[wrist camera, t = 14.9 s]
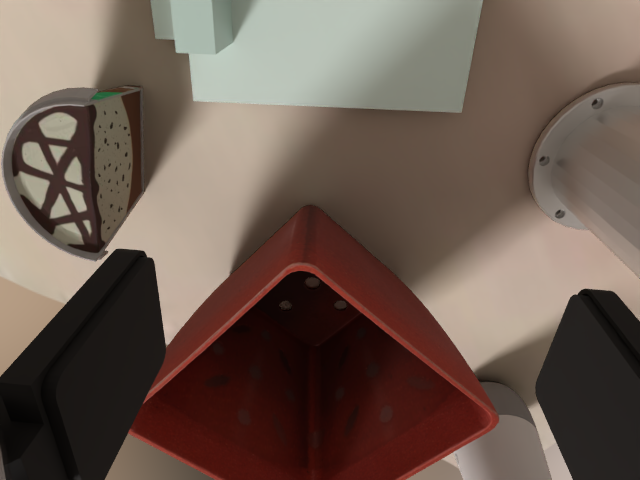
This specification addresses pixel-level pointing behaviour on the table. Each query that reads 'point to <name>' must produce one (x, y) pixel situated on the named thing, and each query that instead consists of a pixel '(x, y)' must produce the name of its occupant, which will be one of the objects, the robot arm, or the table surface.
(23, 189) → the food container
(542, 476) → the smart speaker
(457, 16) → the lid
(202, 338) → the plant pot
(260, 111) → the table surface
